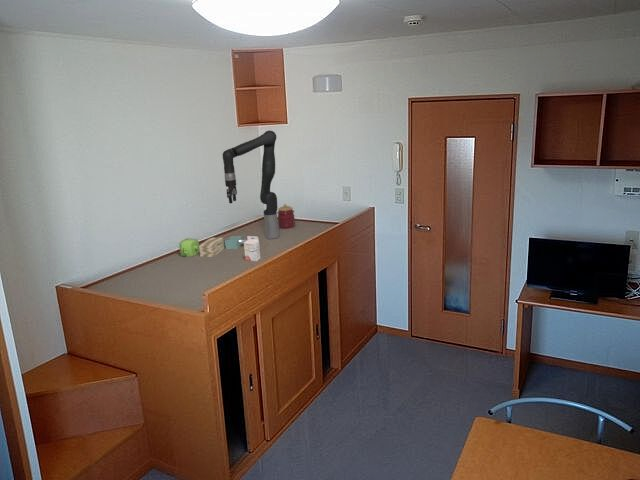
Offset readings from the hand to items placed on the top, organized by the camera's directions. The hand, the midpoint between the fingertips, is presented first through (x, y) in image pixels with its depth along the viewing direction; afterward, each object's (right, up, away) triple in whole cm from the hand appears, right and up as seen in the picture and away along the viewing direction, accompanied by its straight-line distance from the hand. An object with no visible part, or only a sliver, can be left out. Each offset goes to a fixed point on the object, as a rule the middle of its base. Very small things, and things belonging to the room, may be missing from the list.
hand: (232, 202), depth 377 cm
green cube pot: (-25, -36, -21) cm, 49 cm away
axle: (+4, -29, -10) cm, 31 cm away
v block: (+3, -31, -9) cm, 32 cm away
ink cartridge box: (+20, -39, -44) cm, 62 cm away
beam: (-10, -35, -20) cm, 42 cm away
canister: (+36, -17, +38) cm, 55 cm away
